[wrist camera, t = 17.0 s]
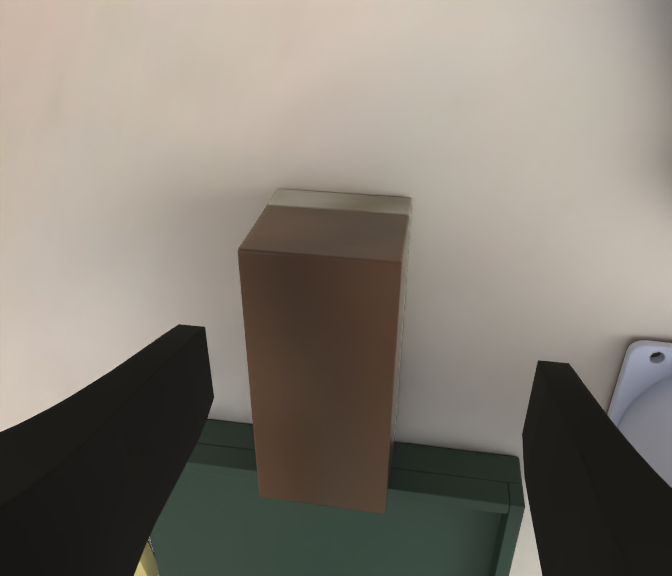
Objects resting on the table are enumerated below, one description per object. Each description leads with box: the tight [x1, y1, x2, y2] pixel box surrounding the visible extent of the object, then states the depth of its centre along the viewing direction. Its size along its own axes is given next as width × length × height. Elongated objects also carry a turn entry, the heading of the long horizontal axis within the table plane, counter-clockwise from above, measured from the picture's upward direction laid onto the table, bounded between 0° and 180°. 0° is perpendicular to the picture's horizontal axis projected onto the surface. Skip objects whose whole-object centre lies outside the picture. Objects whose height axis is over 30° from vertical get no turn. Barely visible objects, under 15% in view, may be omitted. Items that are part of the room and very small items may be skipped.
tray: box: [150, 419, 525, 576], centre depth 32 cm, size 18×16×3 cm
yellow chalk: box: [134, 541, 159, 576], centre depth 35 cm, size 1×4×1 cm
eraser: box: [238, 189, 412, 514], centre depth 23 cm, size 5×11×5 cm, turn 0°
